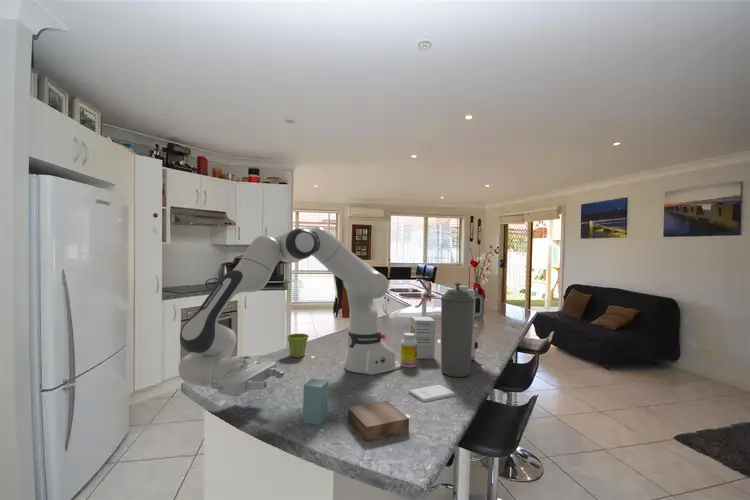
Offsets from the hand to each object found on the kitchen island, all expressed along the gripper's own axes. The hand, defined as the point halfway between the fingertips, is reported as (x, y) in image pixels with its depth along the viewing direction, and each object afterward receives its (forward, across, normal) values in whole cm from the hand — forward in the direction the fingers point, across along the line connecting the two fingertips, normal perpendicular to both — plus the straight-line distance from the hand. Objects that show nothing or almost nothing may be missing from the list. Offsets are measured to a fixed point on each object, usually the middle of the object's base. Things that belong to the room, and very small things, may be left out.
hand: (274, 380), depth 102 cm
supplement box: (+33, +72, +8) cm, 80 cm away
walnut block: (+30, +2, +10) cm, 31 cm away
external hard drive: (+41, +28, +10) cm, 51 cm away
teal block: (+13, 0, +9) cm, 16 cm away
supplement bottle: (+29, +56, +9) cm, 64 cm away
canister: (+48, +53, +8) cm, 72 cm away
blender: (+51, +72, +8) cm, 89 cm away
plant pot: (-19, +54, +9) cm, 58 cm away
